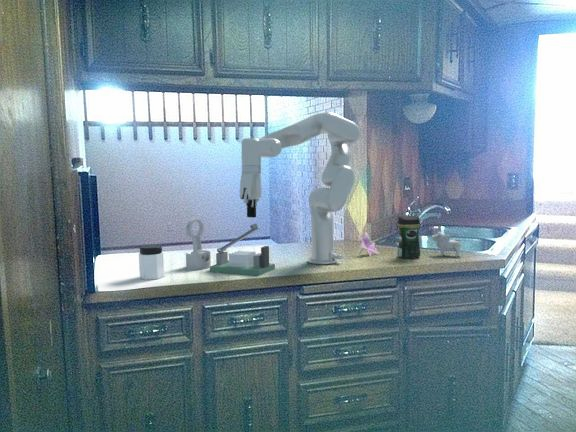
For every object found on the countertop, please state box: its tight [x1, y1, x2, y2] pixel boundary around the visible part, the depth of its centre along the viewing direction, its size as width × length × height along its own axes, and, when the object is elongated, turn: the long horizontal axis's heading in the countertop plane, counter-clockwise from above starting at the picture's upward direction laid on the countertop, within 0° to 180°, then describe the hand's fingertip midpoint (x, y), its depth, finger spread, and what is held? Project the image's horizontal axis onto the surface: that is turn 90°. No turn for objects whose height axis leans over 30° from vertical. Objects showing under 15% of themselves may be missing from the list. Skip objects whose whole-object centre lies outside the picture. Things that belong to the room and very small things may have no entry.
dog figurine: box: [431, 231, 462, 258], centre depth 240 cm, size 5×13×11 cm, turn 69°
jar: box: [138, 244, 165, 281], centre depth 203 cm, size 9×8×12 cm
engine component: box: [185, 217, 212, 271], centre depth 220 cm, size 11×20×10 cm
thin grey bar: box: [216, 223, 260, 253], centre depth 215 cm, size 19×4×3 cm, turn 65°
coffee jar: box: [396, 215, 421, 259], centre depth 237 cm, size 10×8×19 cm
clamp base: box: [209, 245, 276, 277], centre depth 215 cm, size 22×14×10 cm, turn 66°
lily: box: [357, 231, 380, 257], centre depth 245 cm, size 12×12×10 cm
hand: (251, 217), depth 211 cm, fingers closed
